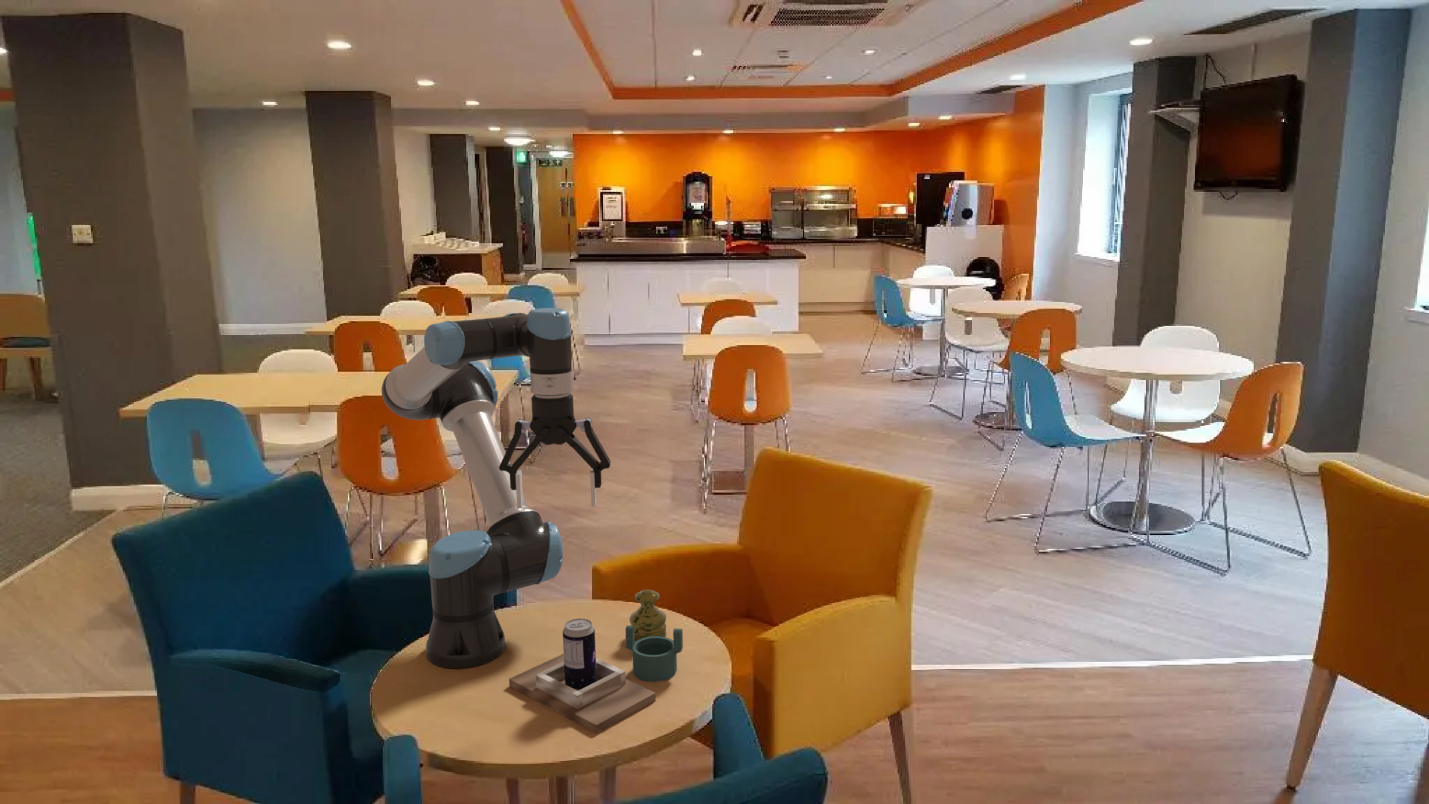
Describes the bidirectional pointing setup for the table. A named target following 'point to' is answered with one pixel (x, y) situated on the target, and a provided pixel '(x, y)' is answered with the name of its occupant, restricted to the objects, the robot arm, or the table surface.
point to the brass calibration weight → (648, 616)
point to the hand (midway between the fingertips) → (557, 505)
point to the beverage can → (579, 653)
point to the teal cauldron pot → (654, 655)
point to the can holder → (584, 693)
